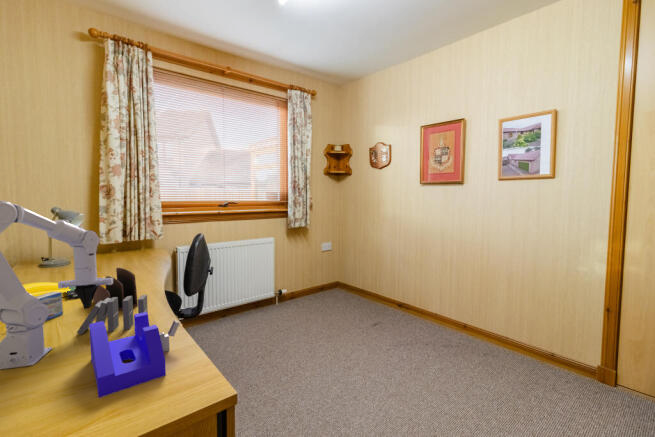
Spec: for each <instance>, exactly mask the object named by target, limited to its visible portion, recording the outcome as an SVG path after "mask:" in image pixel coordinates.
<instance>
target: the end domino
mask: <svg viewBox="0 0 655 437" xmlns="http://www.w3.org/2000/svg"><path fill="white" fill-rule="evenodd" d="M137 302H138V306H137V311H138V312H137V314H138V313H143V312H147V314H148V315H149V313H148V310H149V309H148V294H141V295H140V297H138V298H137Z"/></svg>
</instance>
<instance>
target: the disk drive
mask: <svg viewBox="0 0 655 437" xmlns="http://www.w3.org/2000/svg"><path fill="white" fill-rule="evenodd" d="M69 289H71V290H70V291H67V295H66V296H67V299H68V300H73V299H74V300H75V299H80V298H79V297H78V295H77V294H76V293H75V292H74V290H75V289H76V287H69Z"/></svg>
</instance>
